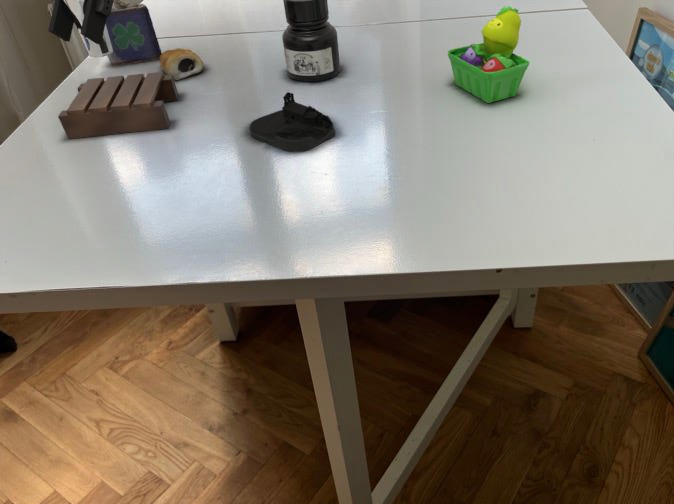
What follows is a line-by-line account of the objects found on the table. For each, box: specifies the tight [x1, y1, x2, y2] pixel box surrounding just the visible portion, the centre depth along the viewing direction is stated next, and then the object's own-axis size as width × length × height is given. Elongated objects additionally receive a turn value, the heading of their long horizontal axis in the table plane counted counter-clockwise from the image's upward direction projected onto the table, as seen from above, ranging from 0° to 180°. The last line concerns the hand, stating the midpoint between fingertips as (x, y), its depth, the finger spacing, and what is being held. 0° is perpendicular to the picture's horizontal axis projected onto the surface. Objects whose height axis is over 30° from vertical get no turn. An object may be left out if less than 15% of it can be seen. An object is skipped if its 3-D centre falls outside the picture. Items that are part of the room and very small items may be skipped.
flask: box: [106, 0, 163, 67], centre depth 99 cm, size 9×3×11 cm, turn 109°
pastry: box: [159, 47, 204, 81], centre depth 96 cm, size 9×7×4 cm
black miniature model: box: [248, 91, 336, 153], centre depth 76 cm, size 12×10×5 cm
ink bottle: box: [281, 0, 341, 82], centre depth 89 cm, size 10×9×12 cm
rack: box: [57, 71, 180, 140], centre depth 82 cm, size 14×12×4 cm
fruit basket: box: [446, 5, 531, 104], centre depth 81 cm, size 11×9×11 cm
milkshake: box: [63, 0, 113, 58], centre depth 74 cm, size 4×5×10 cm
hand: (74, 37), depth 73 cm, fingers closed on milkshake, 5 cm apart
